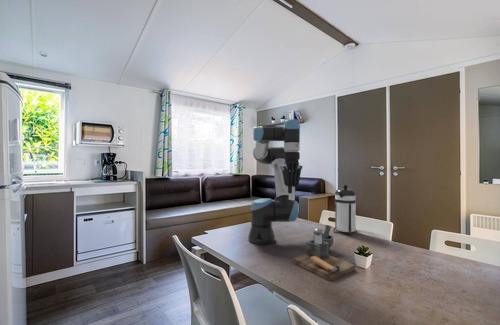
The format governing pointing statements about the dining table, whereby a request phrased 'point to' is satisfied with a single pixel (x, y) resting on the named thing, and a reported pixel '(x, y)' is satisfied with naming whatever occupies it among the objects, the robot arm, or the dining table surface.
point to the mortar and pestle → (327, 236)
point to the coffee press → (345, 210)
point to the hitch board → (322, 253)
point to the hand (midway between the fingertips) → (291, 199)
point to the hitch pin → (318, 236)
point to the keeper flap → (323, 264)
